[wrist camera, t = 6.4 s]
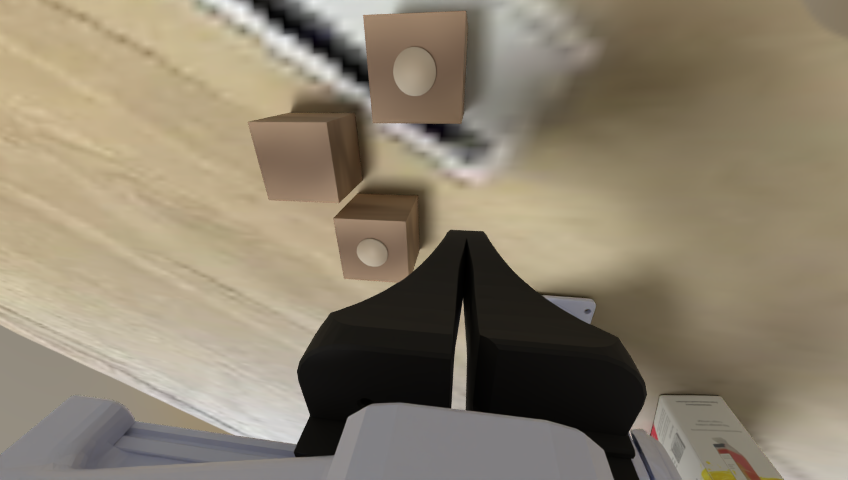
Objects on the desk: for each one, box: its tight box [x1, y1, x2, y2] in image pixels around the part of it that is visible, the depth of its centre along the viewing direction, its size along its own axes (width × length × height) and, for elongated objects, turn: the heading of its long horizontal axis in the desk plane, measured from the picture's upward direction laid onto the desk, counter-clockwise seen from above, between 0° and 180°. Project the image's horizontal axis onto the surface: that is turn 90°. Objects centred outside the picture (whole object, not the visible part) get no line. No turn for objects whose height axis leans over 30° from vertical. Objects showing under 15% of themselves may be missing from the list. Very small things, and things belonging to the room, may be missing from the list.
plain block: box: [248, 113, 363, 203], centre depth 19 cm, size 4×4×4 cm
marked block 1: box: [363, 11, 468, 124], centre depth 16 cm, size 4×5×5 cm
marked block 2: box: [333, 193, 420, 283], centre depth 21 cm, size 4×5×5 cm
